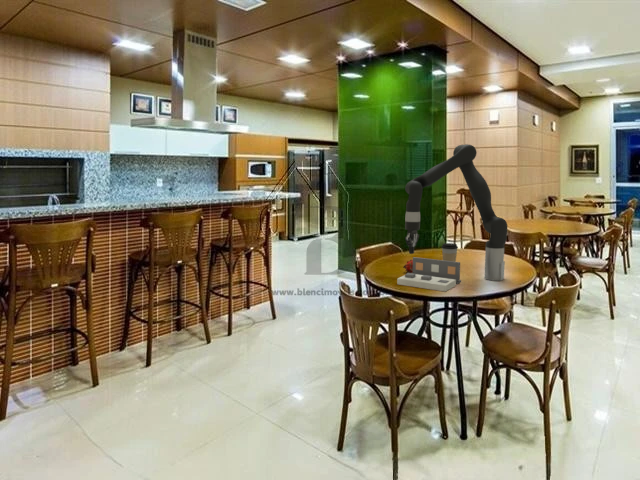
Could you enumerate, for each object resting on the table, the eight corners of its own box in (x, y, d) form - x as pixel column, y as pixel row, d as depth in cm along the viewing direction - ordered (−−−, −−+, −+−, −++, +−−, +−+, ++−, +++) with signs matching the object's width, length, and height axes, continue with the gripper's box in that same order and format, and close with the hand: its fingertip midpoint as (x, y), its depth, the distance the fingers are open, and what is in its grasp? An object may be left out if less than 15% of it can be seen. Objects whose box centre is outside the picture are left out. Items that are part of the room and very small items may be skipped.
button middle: (431, 281, 230) (431, 275, 230) (428, 283, 227) (428, 277, 227) (424, 280, 233) (424, 274, 232) (421, 282, 230) (421, 276, 229)
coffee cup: (459, 268, 265) (460, 243, 263) (454, 271, 257) (455, 246, 255) (443, 266, 270) (444, 242, 268) (438, 270, 262) (439, 244, 260)
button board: (455, 285, 228) (456, 279, 228) (445, 291, 217) (445, 285, 217) (409, 278, 243) (409, 273, 243) (397, 284, 232) (397, 278, 232)
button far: (415, 279, 236) (415, 273, 235) (412, 280, 233) (412, 275, 232) (408, 278, 238) (408, 272, 238) (405, 279, 235) (405, 274, 234)
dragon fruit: (425, 275, 257) (404, 278, 256) (420, 264, 263) (400, 267, 262) (426, 265, 251) (405, 269, 250) (421, 254, 257) (401, 258, 256)
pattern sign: (461, 282, 234) (461, 261, 233) (457, 284, 230) (457, 263, 228) (415, 275, 250) (415, 256, 248) (410, 277, 245) (410, 258, 243)
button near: (448, 286, 225) (448, 280, 225) (445, 288, 222) (445, 282, 222) (440, 285, 228) (440, 279, 227) (437, 287, 224) (437, 281, 224)
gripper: (414, 222, 222) (413, 256, 224) (424, 219, 232) (423, 252, 235) (400, 221, 226) (399, 254, 229) (411, 218, 237) (410, 250, 239)
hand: (411, 253), depth 232 cm, fingers closed
